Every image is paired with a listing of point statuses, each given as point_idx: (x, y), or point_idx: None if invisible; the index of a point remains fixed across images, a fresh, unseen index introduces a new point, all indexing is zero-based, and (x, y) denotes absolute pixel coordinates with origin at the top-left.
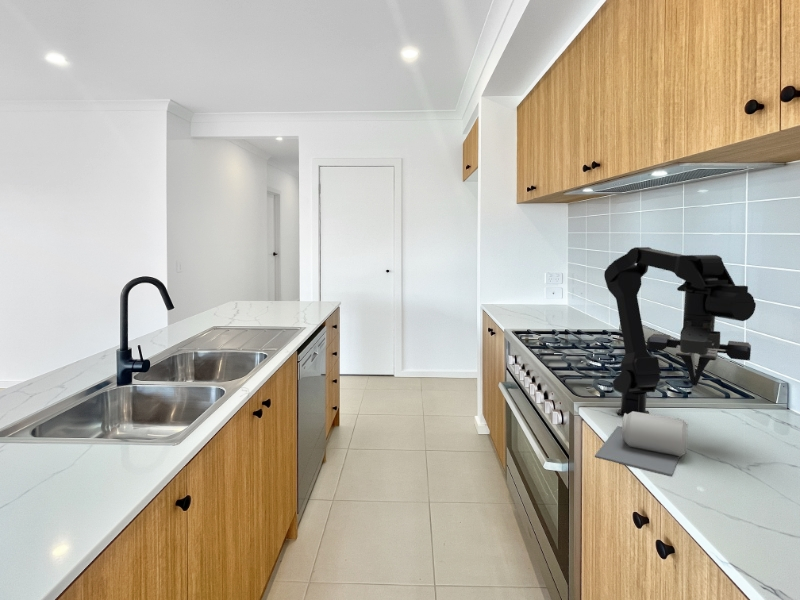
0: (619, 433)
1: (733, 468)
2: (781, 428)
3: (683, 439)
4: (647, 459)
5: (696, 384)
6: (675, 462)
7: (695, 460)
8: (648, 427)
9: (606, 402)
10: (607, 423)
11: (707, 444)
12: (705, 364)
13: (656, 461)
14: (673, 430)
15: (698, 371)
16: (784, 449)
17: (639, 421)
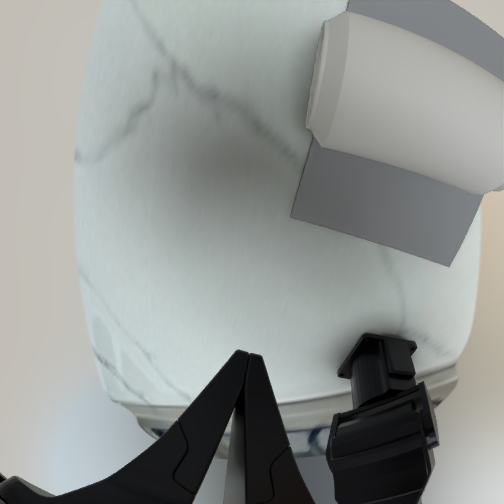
0: (462, 212)
1: (189, 60)
2: (103, 342)
3: (337, 15)
4: (419, 31)
5: (235, 353)
6: None
7: (284, 72)
8: (463, 58)
9: None
10: (458, 286)
11: (231, 215)
12: (125, 477)
13: (397, 21)
14: (381, 24)
15: (204, 432)
16: (86, 245)
17: (496, 83)
